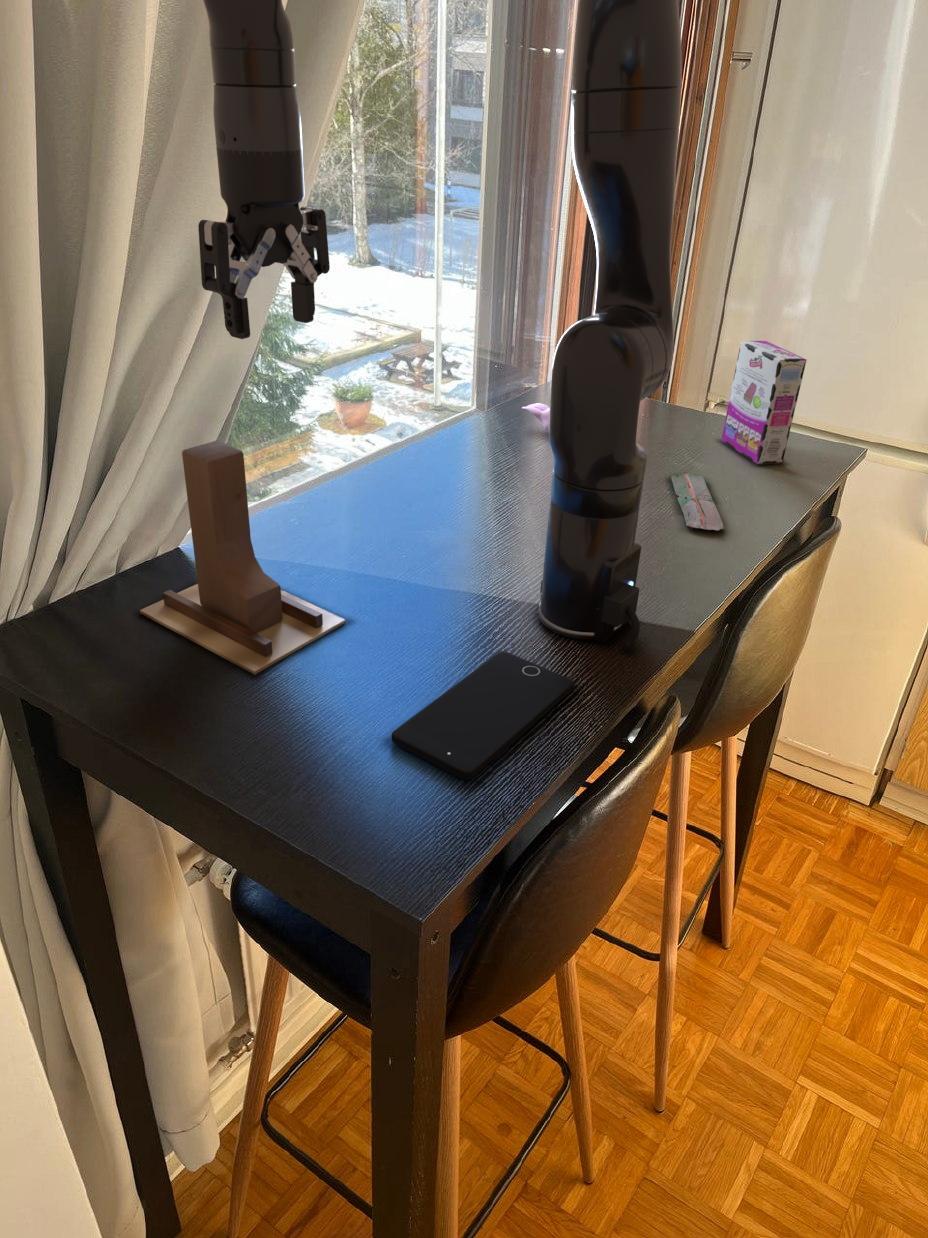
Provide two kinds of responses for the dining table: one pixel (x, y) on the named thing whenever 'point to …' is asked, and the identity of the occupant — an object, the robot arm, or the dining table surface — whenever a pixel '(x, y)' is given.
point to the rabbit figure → (540, 413)
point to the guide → (243, 628)
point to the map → (696, 502)
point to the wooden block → (226, 539)
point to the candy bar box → (763, 401)
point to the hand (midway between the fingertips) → (272, 328)
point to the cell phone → (482, 714)
